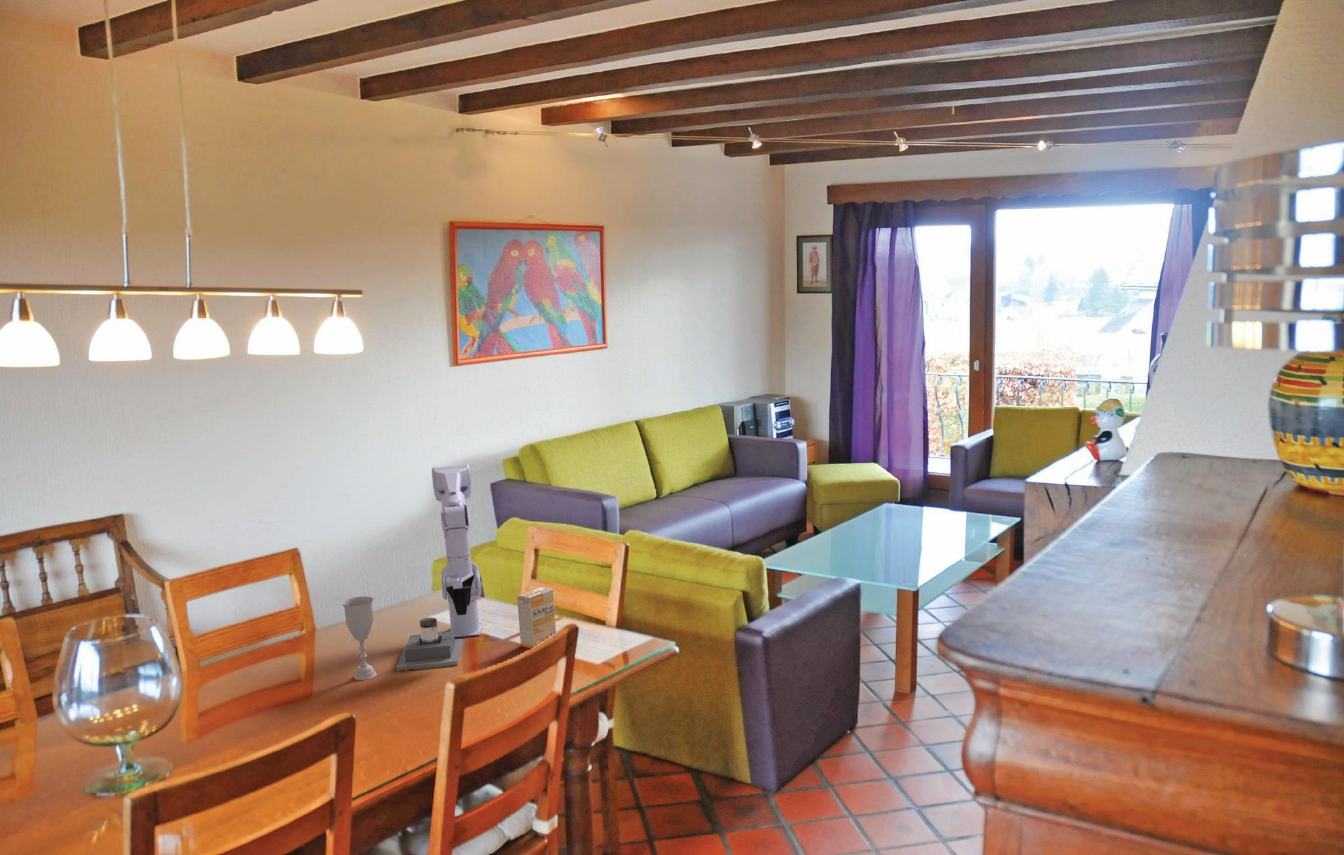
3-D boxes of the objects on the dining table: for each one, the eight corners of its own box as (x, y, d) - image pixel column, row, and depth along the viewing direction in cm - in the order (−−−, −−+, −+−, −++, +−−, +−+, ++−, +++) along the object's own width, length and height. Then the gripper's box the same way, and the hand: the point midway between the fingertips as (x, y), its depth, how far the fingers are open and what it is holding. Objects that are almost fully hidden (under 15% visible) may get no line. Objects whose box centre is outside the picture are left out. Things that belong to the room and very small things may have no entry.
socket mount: (406, 648, 252) (404, 632, 251) (463, 642, 253) (461, 627, 253) (396, 671, 236) (395, 654, 236) (457, 665, 238) (456, 648, 237)
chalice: (342, 679, 233) (334, 603, 231) (364, 668, 239) (356, 595, 237) (366, 683, 230) (358, 606, 227) (387, 672, 236) (379, 598, 233)
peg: (424, 650, 246) (421, 618, 245) (440, 648, 247) (437, 617, 246) (421, 655, 243) (418, 623, 242) (438, 654, 243) (435, 622, 242)
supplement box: (534, 649, 245) (529, 597, 243) (520, 646, 248) (515, 594, 246) (557, 639, 251) (553, 588, 250) (543, 636, 254) (539, 585, 253)
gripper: (445, 550, 251) (450, 603, 252) (437, 563, 237) (443, 620, 238) (474, 547, 252) (478, 600, 253) (468, 561, 237) (473, 617, 239)
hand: (463, 609), depth 246 cm, fingers open, 7 cm apart
